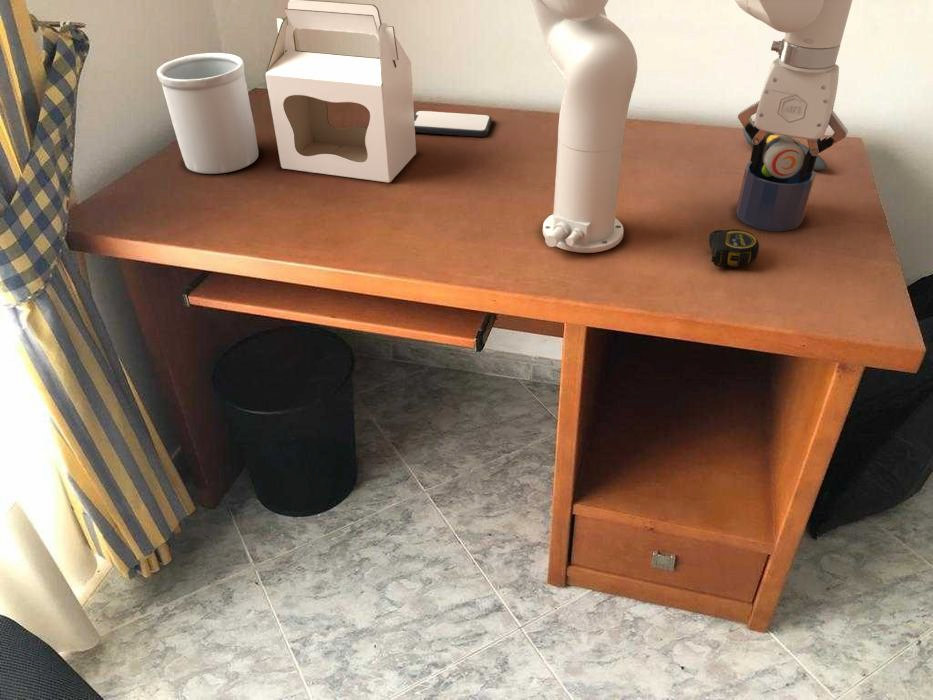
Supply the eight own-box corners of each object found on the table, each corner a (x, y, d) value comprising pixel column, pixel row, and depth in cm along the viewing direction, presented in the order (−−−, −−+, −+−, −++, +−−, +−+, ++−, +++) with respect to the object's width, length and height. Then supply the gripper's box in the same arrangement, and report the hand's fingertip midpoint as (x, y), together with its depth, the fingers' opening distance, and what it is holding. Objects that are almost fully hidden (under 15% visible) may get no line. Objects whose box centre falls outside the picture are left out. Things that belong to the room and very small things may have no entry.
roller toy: (754, 168, 124) (762, 133, 121) (795, 167, 124) (804, 133, 121) (762, 180, 121) (770, 144, 117) (803, 180, 121) (813, 144, 117)
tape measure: (706, 247, 119) (710, 225, 117) (752, 250, 118) (757, 228, 116) (709, 270, 114) (713, 248, 112) (757, 274, 113) (763, 251, 111)
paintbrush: (836, 169, 140) (844, 142, 137) (820, 176, 138) (827, 149, 135) (744, 135, 153) (749, 110, 150) (728, 142, 150) (733, 117, 147)
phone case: (492, 122, 161) (416, 117, 163) (492, 114, 160) (416, 109, 162) (486, 139, 154) (407, 133, 156) (486, 131, 153) (406, 125, 155)
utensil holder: (165, 172, 143) (139, 76, 132) (205, 140, 155) (184, 49, 144) (238, 179, 140) (218, 82, 130) (273, 146, 152) (257, 54, 141)
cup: (794, 237, 121) (807, 190, 116) (728, 222, 125) (738, 175, 120) (808, 210, 128) (821, 164, 123) (745, 196, 132) (755, 152, 127)
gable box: (279, 168, 144) (251, 7, 127) (312, 141, 154) (290, -12, 136) (391, 183, 138) (378, 17, 121) (417, 154, 148) (409, -4, 131)
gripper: (740, 52, 112) (717, 169, 123) (870, 71, 105) (833, 193, 116) (754, 39, 117) (731, 151, 128) (878, 55, 110) (842, 173, 121)
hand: (780, 170), depth 122 cm, fingers closed on roller toy, 6 cm apart
